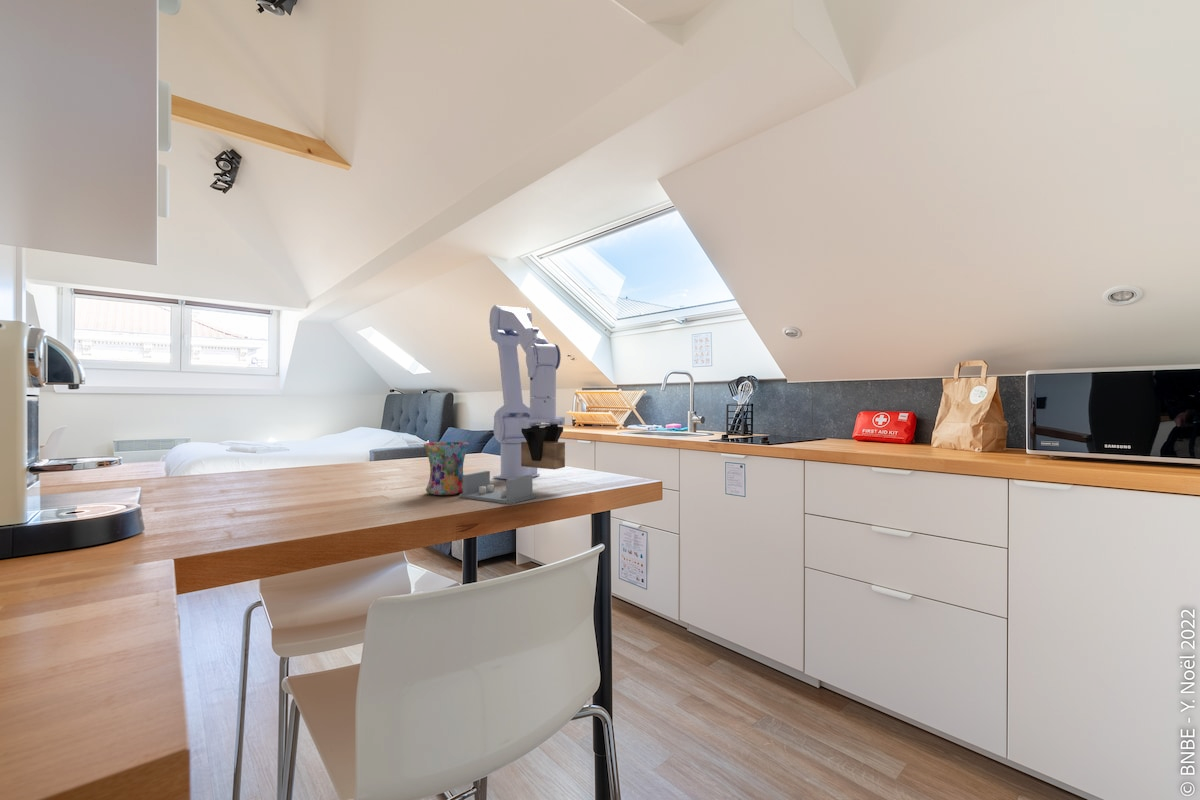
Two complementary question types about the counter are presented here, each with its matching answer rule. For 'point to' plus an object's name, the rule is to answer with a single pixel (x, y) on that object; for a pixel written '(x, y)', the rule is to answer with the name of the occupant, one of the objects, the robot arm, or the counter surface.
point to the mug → (446, 467)
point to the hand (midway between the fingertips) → (542, 459)
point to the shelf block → (545, 455)
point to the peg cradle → (482, 490)
